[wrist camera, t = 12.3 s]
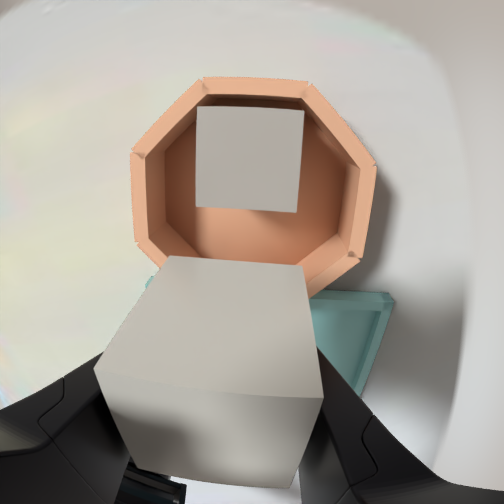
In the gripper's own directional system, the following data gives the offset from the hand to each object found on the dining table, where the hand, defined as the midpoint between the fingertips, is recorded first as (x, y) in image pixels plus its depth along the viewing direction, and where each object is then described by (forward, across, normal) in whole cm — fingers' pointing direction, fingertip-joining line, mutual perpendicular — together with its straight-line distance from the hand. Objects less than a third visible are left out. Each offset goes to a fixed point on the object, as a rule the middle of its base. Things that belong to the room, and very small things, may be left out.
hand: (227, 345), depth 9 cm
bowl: (+10, 0, -2) cm, 11 cm away
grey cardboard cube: (+1, 0, 0) cm, 1 cm away
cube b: (+10, 0, -5) cm, 11 cm away
